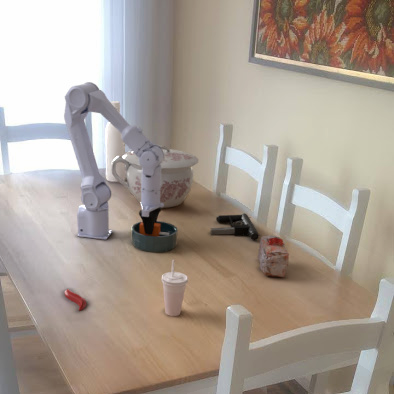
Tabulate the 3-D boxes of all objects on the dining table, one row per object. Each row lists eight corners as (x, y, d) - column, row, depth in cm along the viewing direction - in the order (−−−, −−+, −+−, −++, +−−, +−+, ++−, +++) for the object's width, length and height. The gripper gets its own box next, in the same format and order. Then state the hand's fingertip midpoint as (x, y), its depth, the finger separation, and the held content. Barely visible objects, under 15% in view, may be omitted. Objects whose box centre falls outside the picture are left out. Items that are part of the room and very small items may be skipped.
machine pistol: (214, 234, 184) (263, 232, 186) (205, 213, 201) (250, 211, 203) (214, 243, 186) (262, 241, 188) (205, 222, 203) (249, 221, 204)
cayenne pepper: (88, 310, 141) (88, 303, 140) (69, 311, 139) (68, 304, 138) (81, 288, 150) (81, 282, 149) (63, 290, 149) (63, 283, 148)
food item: (288, 279, 164) (294, 247, 159) (261, 279, 163) (265, 246, 158) (278, 260, 175) (283, 230, 170) (252, 260, 175) (257, 229, 169)
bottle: (103, 181, 234) (102, 102, 218) (109, 176, 240) (108, 99, 225) (122, 183, 233) (122, 104, 217) (127, 178, 240) (127, 101, 224)
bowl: (126, 249, 175) (126, 233, 172) (137, 233, 187) (137, 218, 184) (172, 255, 173) (172, 239, 171) (180, 238, 185) (181, 223, 183)
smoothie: (159, 306, 145) (161, 254, 138) (184, 306, 146) (188, 255, 138) (160, 318, 140) (162, 265, 132) (186, 318, 140) (190, 266, 133)
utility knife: (139, 236, 178) (139, 224, 176) (141, 233, 180) (141, 221, 178) (167, 240, 177) (168, 227, 175) (169, 236, 180) (170, 224, 178)
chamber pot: (209, 202, 219) (213, 146, 208) (168, 220, 199) (171, 159, 188) (150, 187, 231) (151, 133, 220) (106, 202, 211) (105, 144, 200)
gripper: (159, 197, 165) (157, 241, 172) (168, 183, 177) (166, 225, 184) (135, 194, 165) (134, 238, 172) (146, 181, 177) (145, 223, 185)
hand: (149, 231), depth 178 cm, fingers closed on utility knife, 3 cm apart
